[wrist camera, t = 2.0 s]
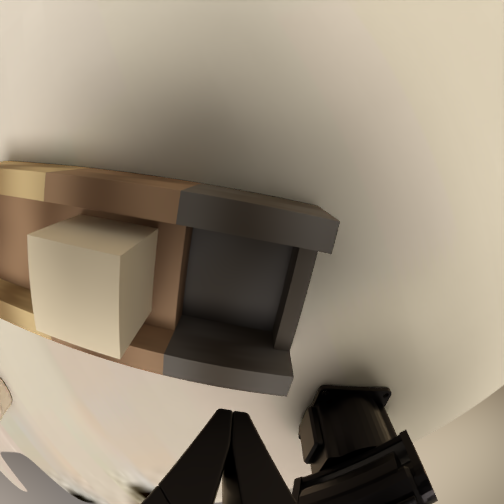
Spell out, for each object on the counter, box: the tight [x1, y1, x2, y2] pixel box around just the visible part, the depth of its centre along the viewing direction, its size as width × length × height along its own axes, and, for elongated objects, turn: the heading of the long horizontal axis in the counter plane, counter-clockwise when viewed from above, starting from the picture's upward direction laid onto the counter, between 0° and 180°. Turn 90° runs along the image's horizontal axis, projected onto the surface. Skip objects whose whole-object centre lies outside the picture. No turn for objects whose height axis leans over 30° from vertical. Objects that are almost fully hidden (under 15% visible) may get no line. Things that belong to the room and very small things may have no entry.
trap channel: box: [0, 161, 340, 396], centre depth 16 cm, size 23×10×5 cm, turn 79°
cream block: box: [27, 214, 158, 359], centre depth 14 cm, size 5×5×5 cm
